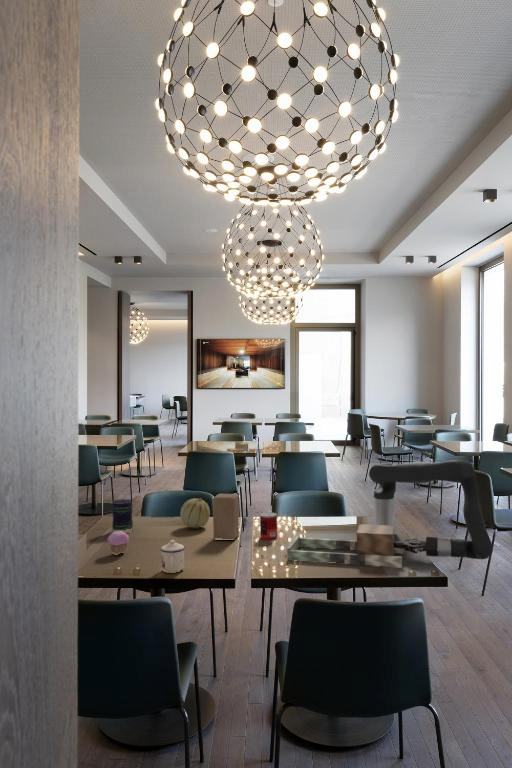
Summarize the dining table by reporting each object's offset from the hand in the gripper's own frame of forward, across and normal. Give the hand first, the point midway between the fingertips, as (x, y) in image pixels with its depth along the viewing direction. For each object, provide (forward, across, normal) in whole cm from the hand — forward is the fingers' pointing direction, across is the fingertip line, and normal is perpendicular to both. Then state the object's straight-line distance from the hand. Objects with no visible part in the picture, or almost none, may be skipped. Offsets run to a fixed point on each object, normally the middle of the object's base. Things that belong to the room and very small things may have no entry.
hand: (393, 544), depth 242 cm
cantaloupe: (+98, -33, +6) cm, 103 cm away
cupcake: (+114, +16, +6) cm, 115 cm away
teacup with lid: (+82, +32, +6) cm, 89 cm away
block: (+76, -17, +6) cm, 79 cm away
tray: (+19, 0, +6) cm, 20 cm away
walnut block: (+7, 0, +6) cm, 9 cm away
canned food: (+57, -22, +6) cm, 62 cm away
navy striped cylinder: (+130, -19, +6) cm, 132 cm away
